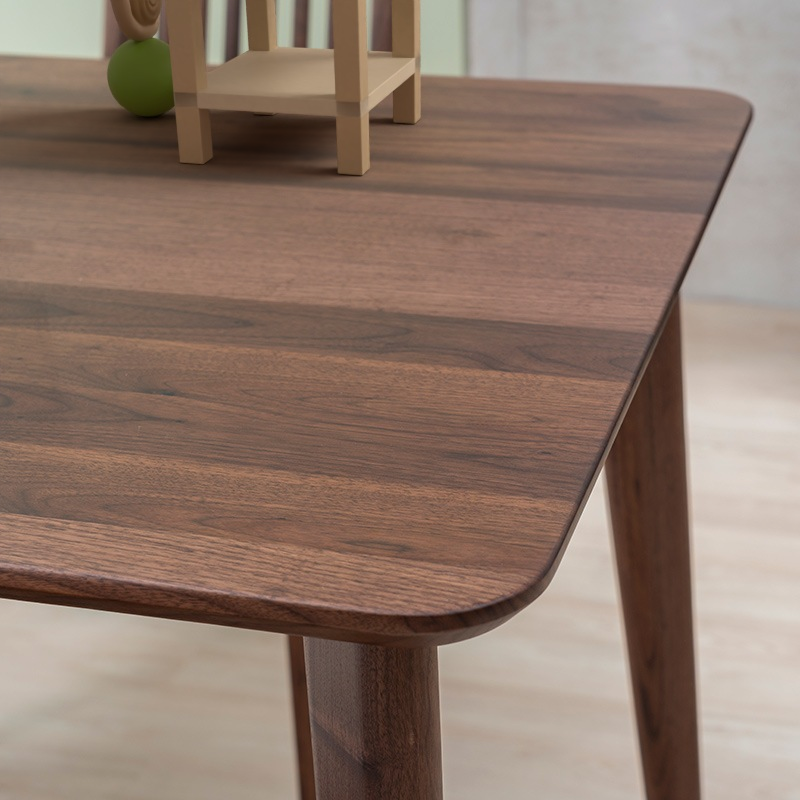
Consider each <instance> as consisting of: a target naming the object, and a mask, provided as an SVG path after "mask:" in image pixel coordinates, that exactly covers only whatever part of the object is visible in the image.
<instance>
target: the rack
mask: <svg viewBox="0 0 800 800" xmlns="http://www.w3.org/2000/svg"><path fill="white" fill-rule="evenodd" d="M164 2H165V15H166V25H167V26H166V27H167V35H168V45H169V48H170V59H171V70H172V81H173V91H174V102H175V106H174V112H175V123H176V134H177V135H176V136H177V143H178V144H177V145H178V155H179V163H181V164H194V165H195V164H196V165H204V164H206V163H207V162H209V161H210V160H211V159H213V158H214V153H213V151H214V150H213V139H212V138H213V137H212V127H211V126H212V125H211V115H210V110H218V111H233V112H234V111H237V112H250V113H251V112H252V114H253V115H260V116H261V115H262V116H274V115H276V114H285V115H301V116H321V117H333V118H334V117H335V127H336V128H335V129H336V156H337V158H336V159H337V161H336V162H337V174H338V175H351V176H364V175H365V174H366V172H368V170H370V168H371V159H370V115H369V112H370V111H371V110H372V109H374V108H375V107H376V106H377V105H378V104H380V103H381V102H382V101H384V99H386V98H387V97H388V96H389V95H390V94H391V93H392V122H393V123H395V124H410V125H411V124H412V125H415V124H416V123H418V122H419V120H421V117H422V115H421V114H422V112H421V111H422V109H421V108H422V107H421V105H422V103H421V102H422V100H421V99H422V96H421V95H422V93H421V92H422V91H421V90H422V88H421V86H422V85H421V83H422V81H421V79H422V78H421V75H422V74H421V68H422V63H421V61H422V59H421V58H422V55H421V0H391V51H381V50H380V51H377V50H368V24H367V23H368V19H367V18H368V17H367V0H331V8H332V9H331V10H332V11H331V13H332V39H333V48H317V47H316V48H315V47H313V48H312V47H294V46H278V32H277V16H276V0H245V15H246V31H247V45H248V47H247V48H248V50H246V51H244V52H243V53H240V54H239V55H237V56H235V57H234V58H232V59H230V60H227V61H226V62H224V63H223V64H221V65H219V66H217V67H215V68H213V69H211V70H210V71H208V72H207V64H206V53H205V40H204V39H205V38H204V26H203V15H202V1H201V0H164Z"/></svg>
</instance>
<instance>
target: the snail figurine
mask: <svg viewBox="0 0 800 800" xmlns="http://www.w3.org/2000/svg"><path fill="white" fill-rule="evenodd" d="M109 1H110V4H111V9H112V12H113V15H114V18H115V21H116V23H117V26H118V28H119V31H121V33H122V34H123V35H124V36H125V37H126V38H128V40H126V41H125V42H123V43H121V44H120V45H119V46H118V47H117V48H116V49H115V51H114V52H113V53H112V55H111V57H110V59H109V62H108V65H107V71H106V75H107V76H106V80H107V84H108V88H109V90H110V93H111V95H112V97H113V98H114V100H115V101H116V102H117V103H118V104H119V106H121V107H122V109H124V110H125V111H128V112H129V113H131V114H134V115H136V116H139V117H156V116H159V115H164V114H165V113H167V112H169V111H170V110H172V109H173V108H175V102H174V91H173V81H172V70H171V59H170V48H169V43H167V42H165V41H163V40H162V39H159V38H157V37H155V36H156V34H157V33H158V31H159V28H160V23H161V22H160V21H161V18H160V14H161V10H162V6H163V0H109Z"/></svg>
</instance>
